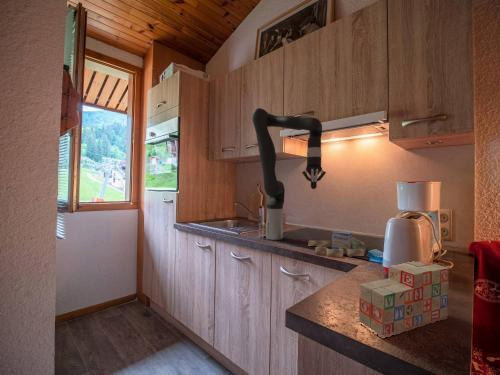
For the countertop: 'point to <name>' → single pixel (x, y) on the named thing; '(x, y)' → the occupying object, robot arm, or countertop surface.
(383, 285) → the stack of blocks
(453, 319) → the countertop surface
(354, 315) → the countertop surface
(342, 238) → the medicine box
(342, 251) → the frame
